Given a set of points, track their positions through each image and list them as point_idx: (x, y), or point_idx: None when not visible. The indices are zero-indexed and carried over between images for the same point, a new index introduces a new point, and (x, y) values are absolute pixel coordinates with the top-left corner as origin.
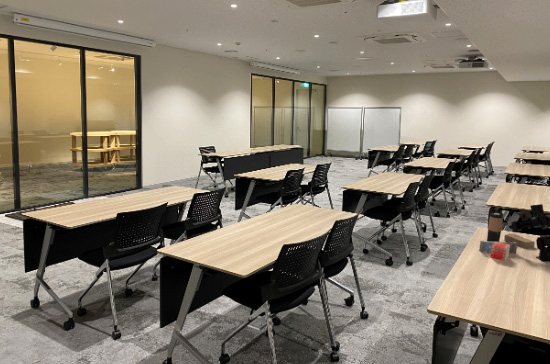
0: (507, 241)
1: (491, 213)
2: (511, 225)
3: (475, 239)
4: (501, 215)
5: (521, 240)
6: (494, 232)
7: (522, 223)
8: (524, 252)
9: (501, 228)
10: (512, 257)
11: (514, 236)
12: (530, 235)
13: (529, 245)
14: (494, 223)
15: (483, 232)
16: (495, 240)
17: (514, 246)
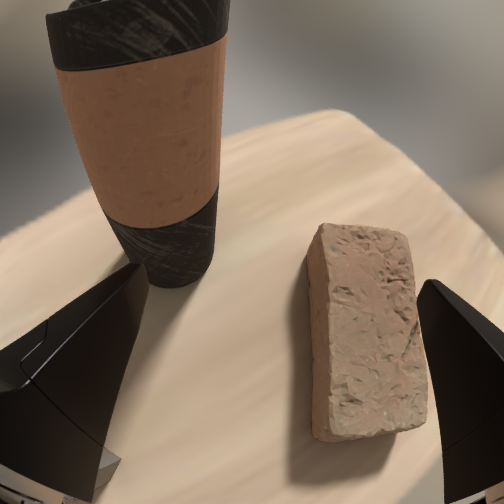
0: (308, 275)
1: (75, 2)
2: (43, 334)
3: None
4: (85, 19)
5: (341, 381)
6: (104, 213)
7: (455, 328)
8: (203, 500)
9: (178, 198)
10: None
11: (366, 280)
12: (492, 251)
13: (358, 438)
14: (71, 128)
15: (299, 132)
16: None
17: None
